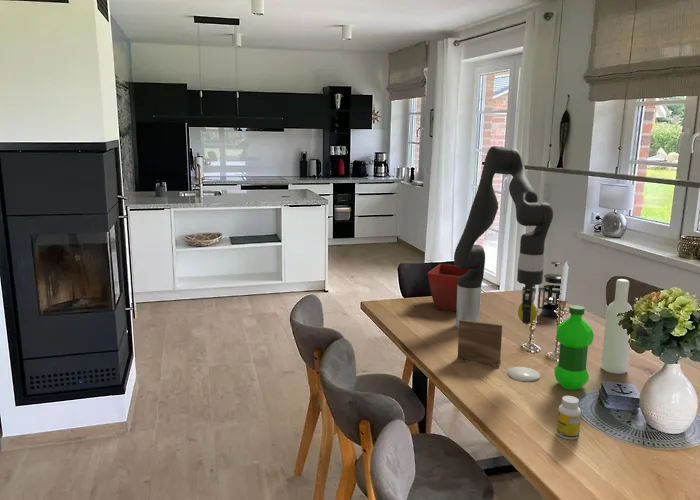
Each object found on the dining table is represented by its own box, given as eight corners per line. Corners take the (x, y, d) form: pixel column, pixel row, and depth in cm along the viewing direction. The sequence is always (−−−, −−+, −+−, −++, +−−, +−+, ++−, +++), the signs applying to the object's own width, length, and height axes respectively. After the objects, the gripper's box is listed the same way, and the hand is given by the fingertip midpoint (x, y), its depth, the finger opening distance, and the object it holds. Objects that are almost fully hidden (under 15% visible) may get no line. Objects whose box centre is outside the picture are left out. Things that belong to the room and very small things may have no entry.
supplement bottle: (552, 429, 147) (555, 394, 145) (572, 428, 148) (576, 393, 146) (562, 440, 142) (565, 404, 140) (583, 439, 142) (586, 403, 140)
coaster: (509, 366, 187) (509, 365, 187) (541, 371, 183) (541, 369, 183) (505, 378, 178) (505, 376, 178) (538, 383, 174) (538, 381, 174)
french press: (560, 311, 246) (564, 259, 242) (569, 318, 237) (573, 264, 233) (533, 311, 246) (537, 259, 242) (541, 318, 237) (545, 264, 232)
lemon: (518, 326, 175) (519, 302, 174) (516, 321, 181) (518, 297, 179) (536, 328, 174) (538, 303, 173) (534, 322, 180) (536, 298, 178)
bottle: (616, 375, 180) (625, 284, 174) (595, 367, 187) (603, 278, 181) (632, 371, 184) (642, 281, 178) (611, 362, 191) (620, 276, 185)
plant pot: (469, 316, 240) (471, 277, 236) (425, 310, 248) (426, 272, 244) (479, 304, 257) (481, 267, 253) (438, 299, 265) (439, 263, 261)
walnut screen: (459, 356, 196) (460, 317, 193) (500, 362, 190) (503, 322, 188) (456, 361, 191) (457, 322, 188) (498, 368, 186) (501, 327, 183)
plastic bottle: (571, 376, 179) (577, 300, 174) (596, 390, 170) (603, 310, 165) (545, 381, 176) (551, 304, 171) (569, 395, 166) (576, 314, 161)
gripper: (541, 273, 166) (537, 328, 169) (545, 263, 179) (541, 314, 182) (515, 271, 169) (512, 325, 172) (520, 261, 182) (517, 312, 185)
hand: (527, 319), depth 177 cm, fingers closed on lemon, 5 cm apart
